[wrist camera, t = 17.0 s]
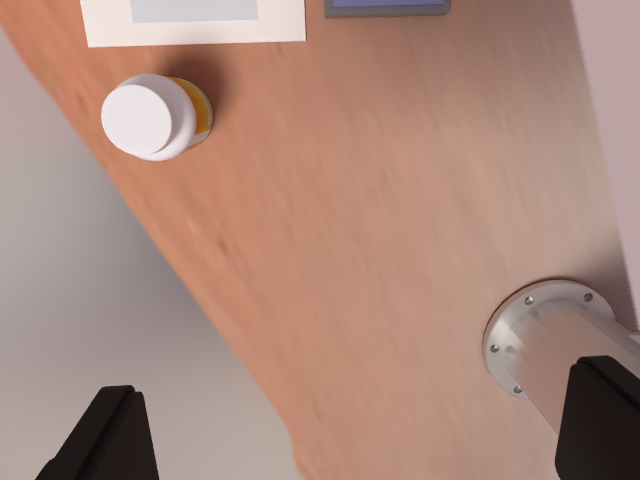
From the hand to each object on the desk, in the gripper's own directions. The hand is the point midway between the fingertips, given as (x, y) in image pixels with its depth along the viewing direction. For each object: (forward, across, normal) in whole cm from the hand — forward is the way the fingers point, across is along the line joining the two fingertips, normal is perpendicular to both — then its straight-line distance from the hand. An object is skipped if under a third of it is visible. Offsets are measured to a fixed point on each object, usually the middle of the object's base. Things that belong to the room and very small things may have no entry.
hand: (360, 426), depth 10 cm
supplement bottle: (+28, +10, -6) cm, 31 cm away
